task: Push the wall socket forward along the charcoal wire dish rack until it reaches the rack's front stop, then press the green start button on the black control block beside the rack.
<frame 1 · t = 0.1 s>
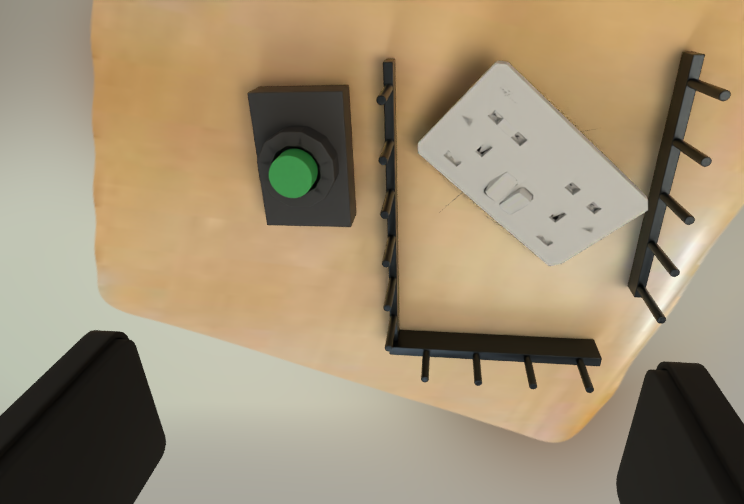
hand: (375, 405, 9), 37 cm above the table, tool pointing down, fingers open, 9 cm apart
control block: (310, 153, 46), on the table
start button: (293, 173, 41), point 6 cm above the table, slide at 0.1 cm
wall socket: (520, 169, 44), on the table
dish rack: (517, 207, 45), on the table
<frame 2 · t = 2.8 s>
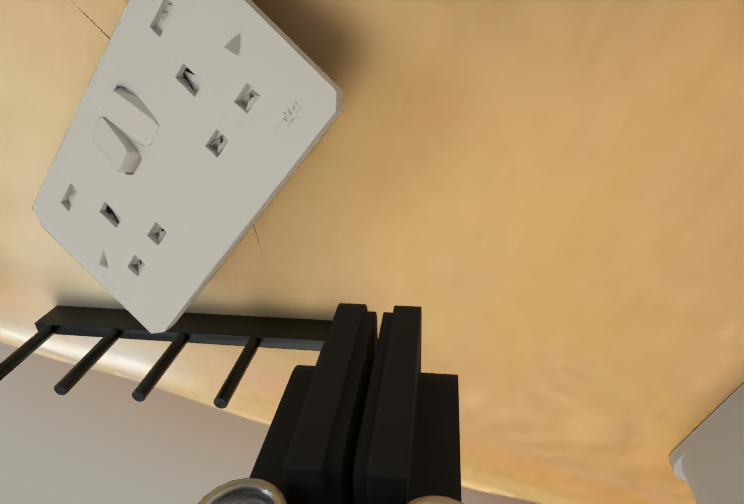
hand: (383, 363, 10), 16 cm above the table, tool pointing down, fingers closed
wall socket: (183, 141, 26), on the table
dish rack: (120, 142, 27), on the table
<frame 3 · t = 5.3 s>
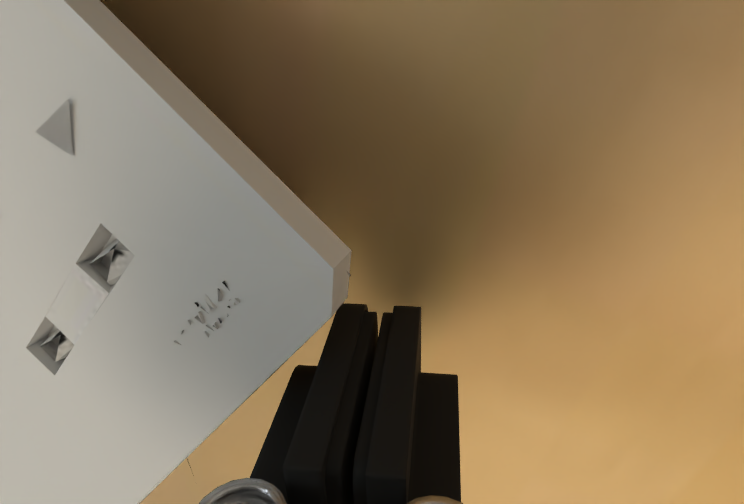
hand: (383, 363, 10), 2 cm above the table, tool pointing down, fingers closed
wall socket: (39, 276, 14), on the table, touching gripper
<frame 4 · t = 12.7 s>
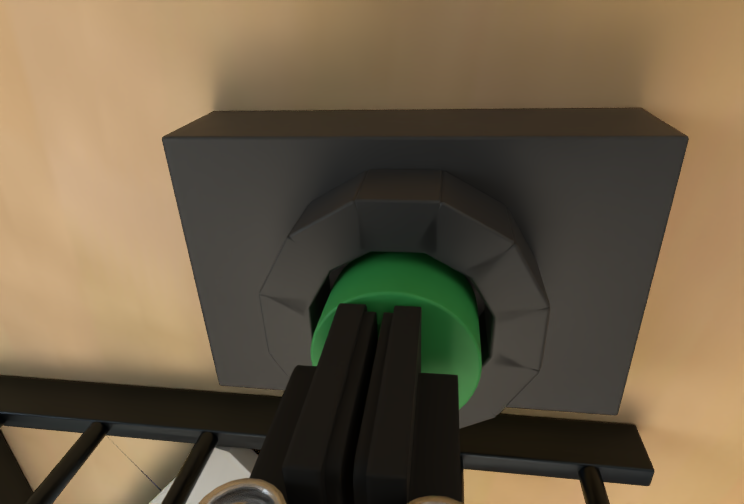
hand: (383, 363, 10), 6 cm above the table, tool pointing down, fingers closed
control block: (414, 237, 16), on the table
start button: (398, 335, 11), point 5 cm above the table, slide at -0.4 cm, touching gripper
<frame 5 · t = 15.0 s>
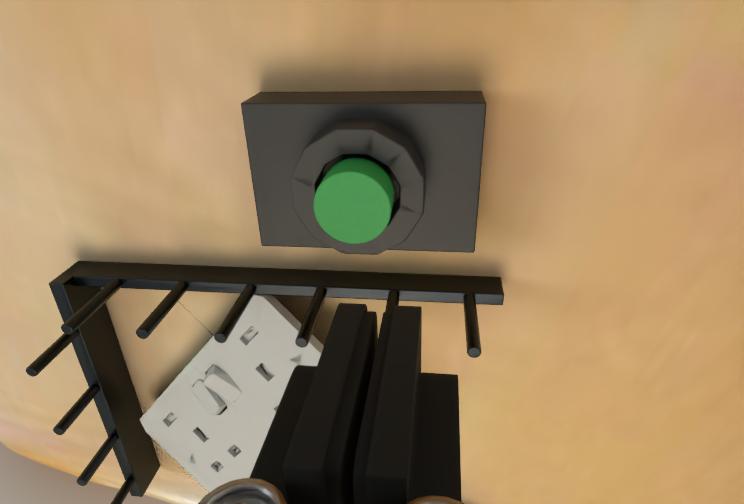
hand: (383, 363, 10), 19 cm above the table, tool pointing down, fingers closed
control block: (369, 163, 28), on the table
start button: (355, 200, 24), point 6 cm above the table, slide at 0.1 cm
wall socket: (249, 376, 38), on the table
dish rack: (312, 402, 38), on the table
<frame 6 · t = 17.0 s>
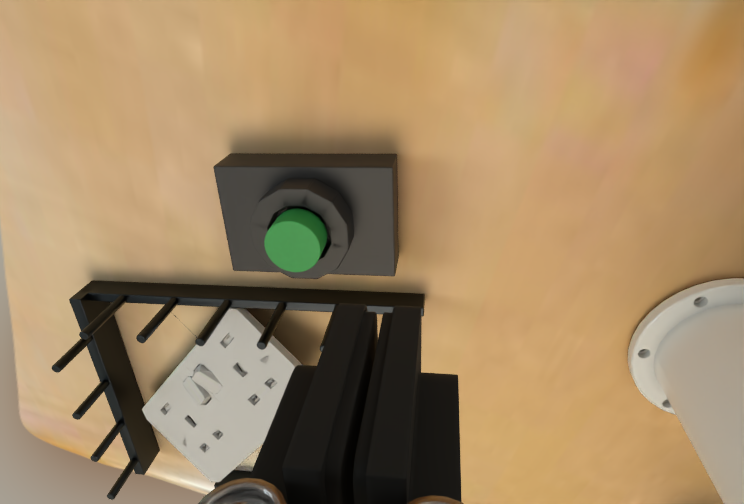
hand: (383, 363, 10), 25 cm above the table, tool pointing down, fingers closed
control block: (316, 206, 37), on the table
start button: (296, 240, 32), point 6 cm above the table, slide at 0.1 cm
wall socket: (231, 374, 46), on the table
dish rack: (282, 395, 46), on the table
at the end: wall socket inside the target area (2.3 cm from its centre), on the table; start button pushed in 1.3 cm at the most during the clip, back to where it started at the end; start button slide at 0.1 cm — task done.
